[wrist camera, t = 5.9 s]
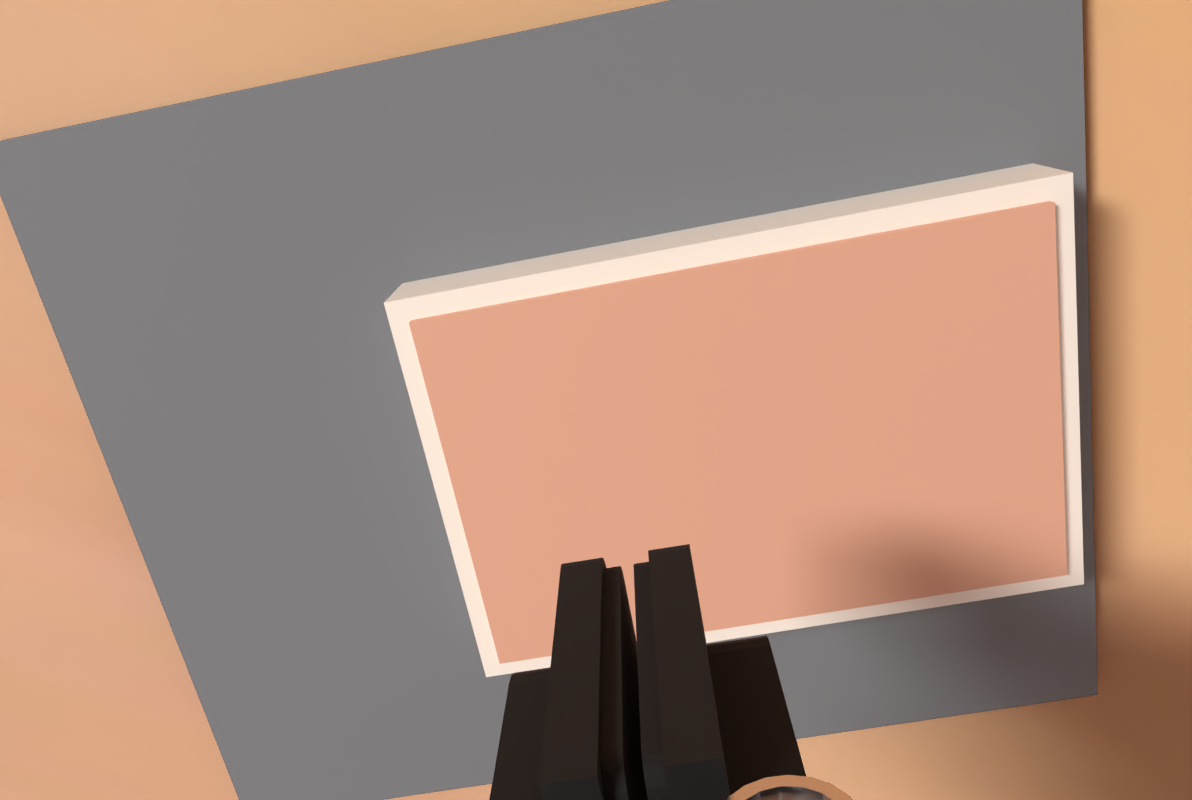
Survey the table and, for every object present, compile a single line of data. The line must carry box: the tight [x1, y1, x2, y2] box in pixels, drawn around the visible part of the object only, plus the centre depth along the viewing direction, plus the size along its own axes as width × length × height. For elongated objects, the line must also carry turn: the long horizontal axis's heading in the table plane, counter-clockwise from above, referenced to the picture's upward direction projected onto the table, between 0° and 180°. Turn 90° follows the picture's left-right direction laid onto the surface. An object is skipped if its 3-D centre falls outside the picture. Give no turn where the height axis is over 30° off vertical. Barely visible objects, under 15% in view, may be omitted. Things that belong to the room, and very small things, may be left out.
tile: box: [384, 163, 1084, 677], centre depth 18 cm, size 2×8×12 cm
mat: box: [0, 0, 1098, 800], centre depth 20 cm, size 20×16×1 cm
